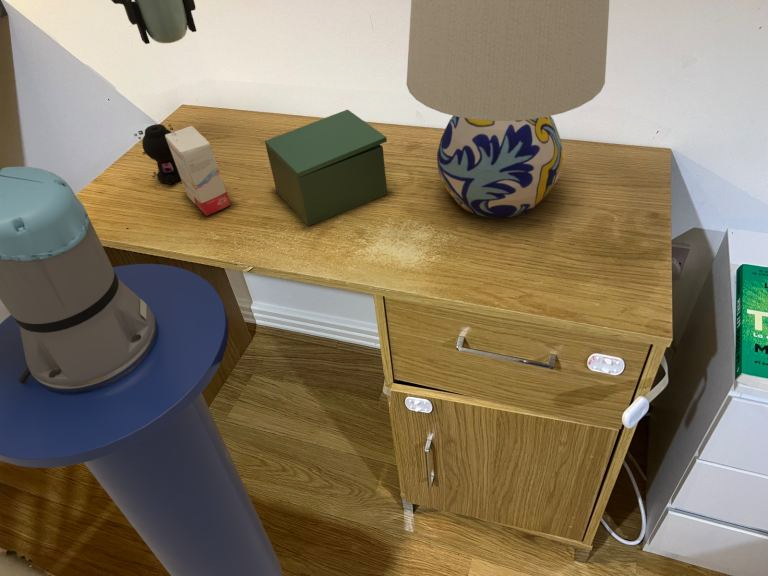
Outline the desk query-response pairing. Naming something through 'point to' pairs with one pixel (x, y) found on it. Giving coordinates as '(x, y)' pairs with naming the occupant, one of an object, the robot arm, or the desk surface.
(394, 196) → the desk surface
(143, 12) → the cup
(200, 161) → the ink box
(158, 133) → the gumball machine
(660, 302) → the desk surface
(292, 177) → the chest
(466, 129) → the table lamp
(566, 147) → the desk surface
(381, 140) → the lid
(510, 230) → the desk surface
